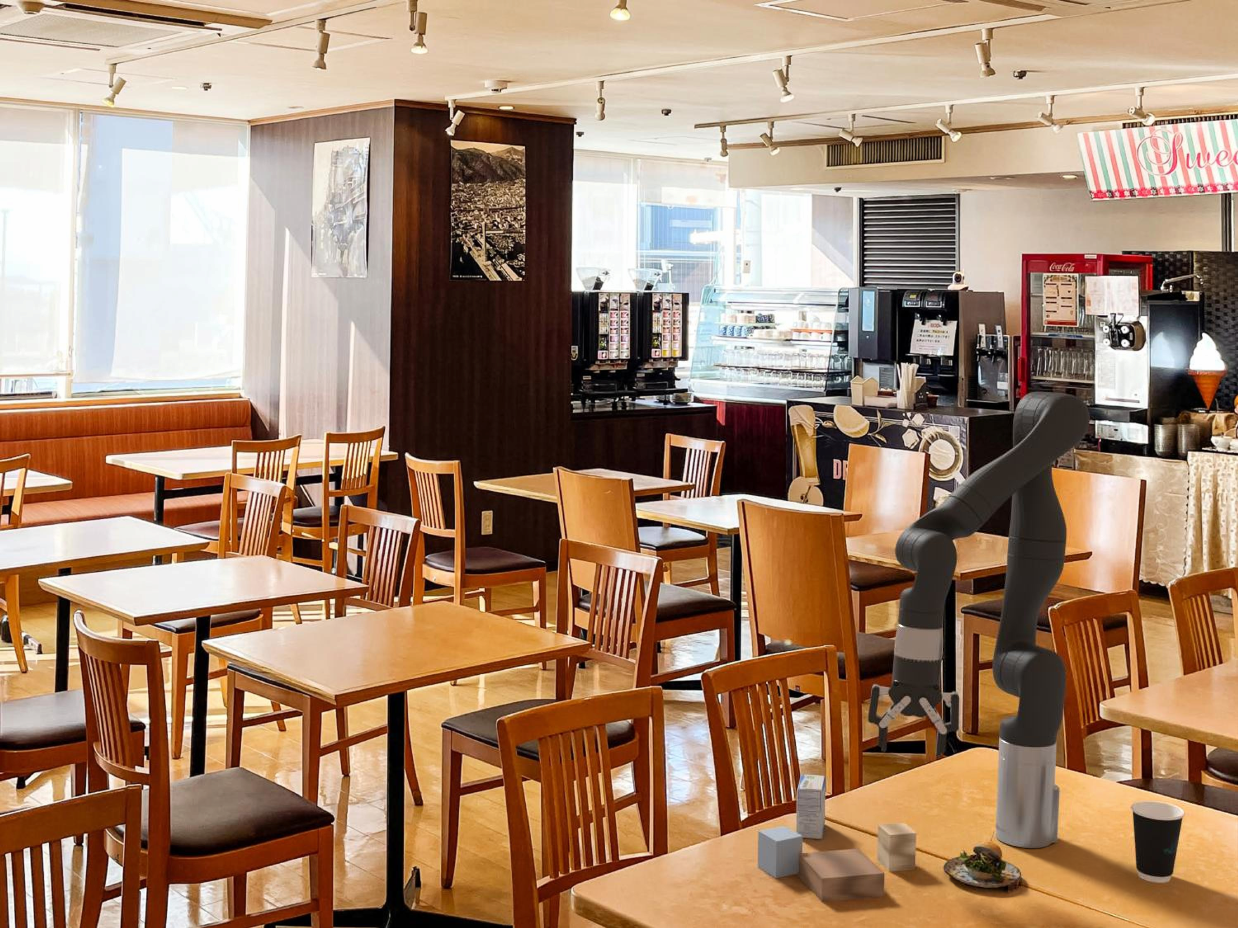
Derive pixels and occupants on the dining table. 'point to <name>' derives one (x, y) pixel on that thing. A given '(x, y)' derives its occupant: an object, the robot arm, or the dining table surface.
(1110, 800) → the dining table surface
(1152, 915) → the dining table surface
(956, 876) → the burger
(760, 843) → the slate block
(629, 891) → the dining table surface
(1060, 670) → the robot arm
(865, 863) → the walnut block
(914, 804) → the dining table surface
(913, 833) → the oak block
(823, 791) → the medicine box
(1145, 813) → the dixie cup
